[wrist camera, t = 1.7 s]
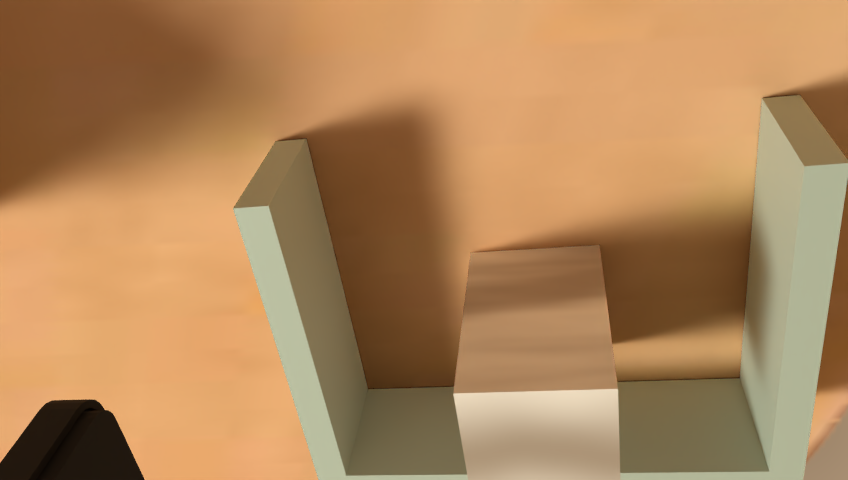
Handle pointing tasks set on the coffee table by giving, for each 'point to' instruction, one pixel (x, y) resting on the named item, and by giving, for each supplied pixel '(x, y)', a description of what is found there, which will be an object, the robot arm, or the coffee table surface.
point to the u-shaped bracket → (637, 400)
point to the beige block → (537, 367)
